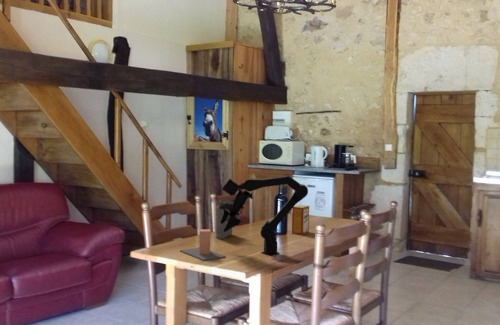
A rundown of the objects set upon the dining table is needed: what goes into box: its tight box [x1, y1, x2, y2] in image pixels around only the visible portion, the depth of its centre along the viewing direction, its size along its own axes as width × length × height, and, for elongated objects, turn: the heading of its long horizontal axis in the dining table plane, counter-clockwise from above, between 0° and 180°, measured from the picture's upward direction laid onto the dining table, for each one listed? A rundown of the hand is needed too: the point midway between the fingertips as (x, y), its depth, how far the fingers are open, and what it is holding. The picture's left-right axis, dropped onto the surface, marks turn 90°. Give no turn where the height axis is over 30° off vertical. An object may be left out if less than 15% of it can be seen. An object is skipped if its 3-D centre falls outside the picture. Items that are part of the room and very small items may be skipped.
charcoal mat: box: [179, 247, 226, 262], centre depth 256 cm, size 22×12×1 cm, turn 36°
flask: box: [215, 205, 233, 240], centre depth 298 cm, size 15×6×20 cm, turn 160°
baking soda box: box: [291, 204, 310, 236], centre depth 312 cm, size 10×6×16 cm
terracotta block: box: [198, 228, 211, 254], centre depth 256 cm, size 5×5×11 cm
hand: (222, 227), depth 263 cm, fingers open, 9 cm apart
